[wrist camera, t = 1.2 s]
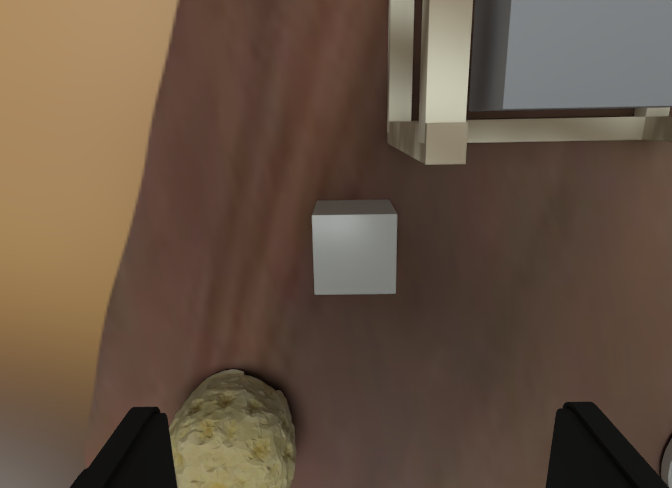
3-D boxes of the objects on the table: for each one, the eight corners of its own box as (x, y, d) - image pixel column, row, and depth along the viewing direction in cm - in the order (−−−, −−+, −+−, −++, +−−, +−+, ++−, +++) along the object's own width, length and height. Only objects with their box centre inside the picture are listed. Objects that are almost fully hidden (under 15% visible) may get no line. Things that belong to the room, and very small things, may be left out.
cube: (388, 199, 31) (397, 214, 26) (387, 267, 32) (395, 293, 27) (316, 200, 31) (311, 215, 26) (318, 268, 32) (314, 294, 27)
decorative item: (196, 391, 39) (158, 522, 33) (179, 345, 31) (125, 506, 25) (302, 406, 40) (283, 538, 34) (310, 364, 32) (288, 527, 26)
